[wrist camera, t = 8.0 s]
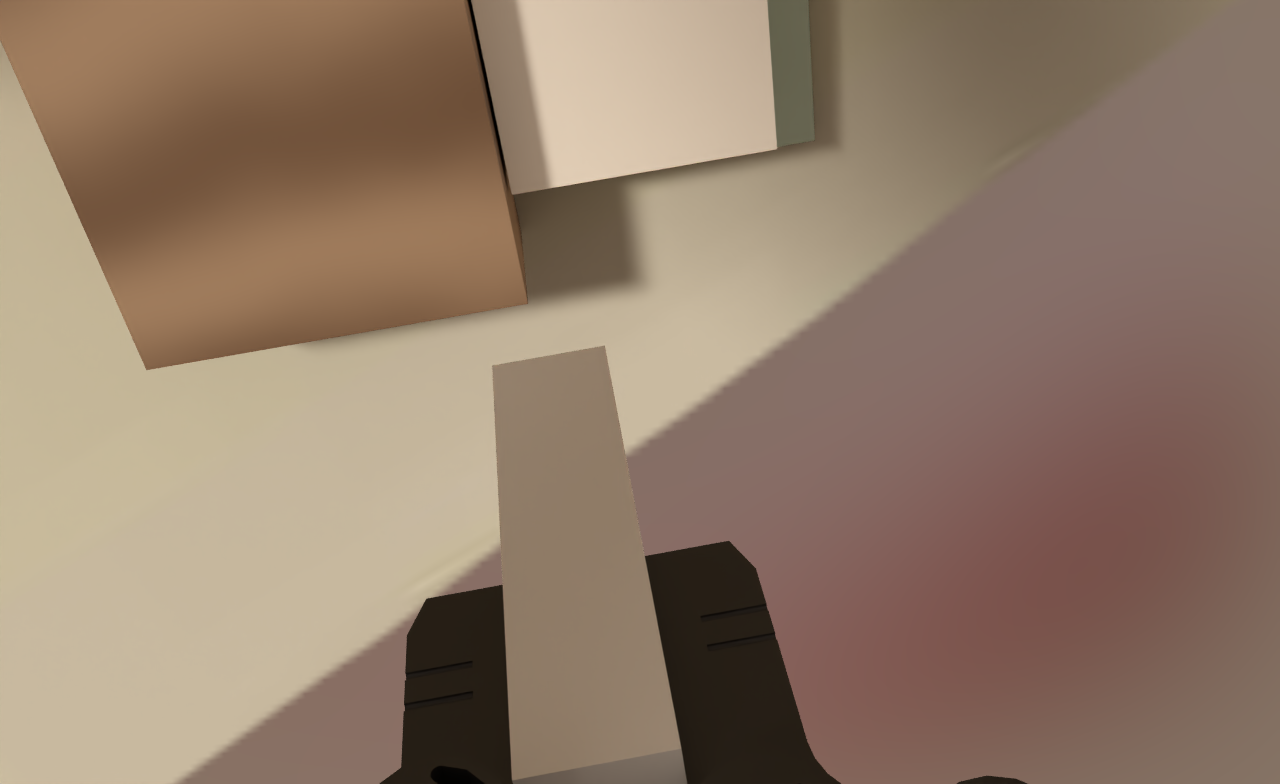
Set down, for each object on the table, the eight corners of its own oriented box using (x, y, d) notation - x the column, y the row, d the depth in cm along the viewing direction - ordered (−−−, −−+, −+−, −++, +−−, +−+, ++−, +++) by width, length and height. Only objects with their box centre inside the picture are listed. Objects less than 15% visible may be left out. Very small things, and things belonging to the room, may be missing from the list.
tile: (453, -107, 29) (453, -85, 27) (740, -155, 29) (758, -136, 27) (508, 160, 33) (511, 195, 31) (759, 117, 33) (777, 149, 31)
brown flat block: (12, -110, 28) (-47, -66, 25) (435, -179, 28) (432, -144, 25) (176, 293, 34) (146, 369, 31) (521, 233, 35) (527, 303, 32)
